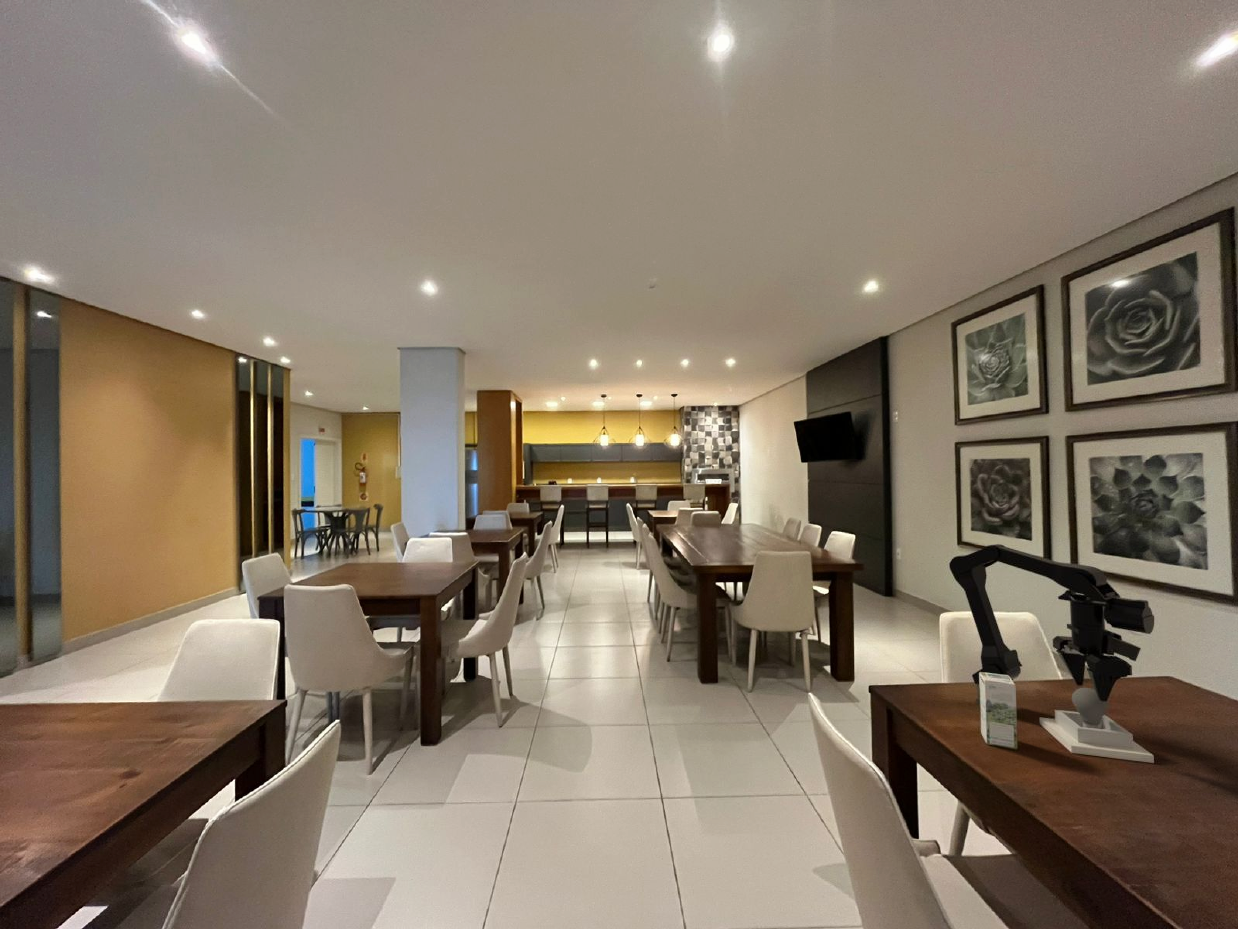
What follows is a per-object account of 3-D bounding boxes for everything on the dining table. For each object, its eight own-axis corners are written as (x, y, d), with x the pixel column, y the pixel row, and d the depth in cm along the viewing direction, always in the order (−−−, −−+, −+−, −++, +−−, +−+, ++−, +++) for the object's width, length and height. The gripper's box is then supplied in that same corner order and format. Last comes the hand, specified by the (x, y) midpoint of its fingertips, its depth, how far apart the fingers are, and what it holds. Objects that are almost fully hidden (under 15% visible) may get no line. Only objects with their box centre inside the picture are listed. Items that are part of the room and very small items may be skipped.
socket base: (1071, 752, 109) (1070, 731, 110) (1039, 723, 123) (1039, 704, 123) (1153, 763, 105) (1152, 741, 105) (1111, 731, 119) (1110, 712, 119)
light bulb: (1066, 726, 118) (1064, 683, 118) (1094, 727, 117) (1092, 683, 117) (1087, 740, 112) (1085, 694, 112) (1117, 740, 111) (1114, 694, 111)
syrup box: (1010, 738, 116) (1008, 674, 116) (1018, 751, 110) (1015, 683, 111) (980, 733, 118) (978, 670, 119) (986, 745, 113) (984, 679, 113)
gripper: (1162, 637, 104) (1166, 715, 103) (1106, 615, 122) (1109, 681, 121) (1095, 633, 107) (1099, 708, 106) (1050, 612, 125) (1053, 676, 124)
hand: (1091, 692), depth 114 cm, fingers open, 9 cm apart
